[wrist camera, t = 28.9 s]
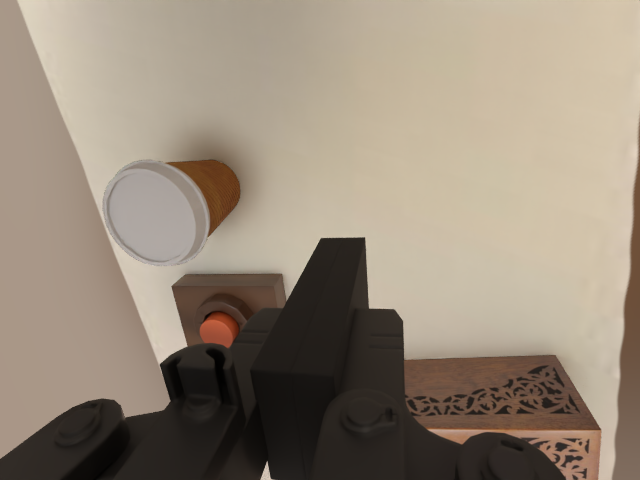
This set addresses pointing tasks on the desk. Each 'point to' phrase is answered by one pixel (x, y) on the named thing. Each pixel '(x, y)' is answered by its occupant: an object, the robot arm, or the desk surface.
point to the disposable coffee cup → (168, 208)
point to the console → (224, 298)
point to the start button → (219, 329)
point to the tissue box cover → (507, 406)
